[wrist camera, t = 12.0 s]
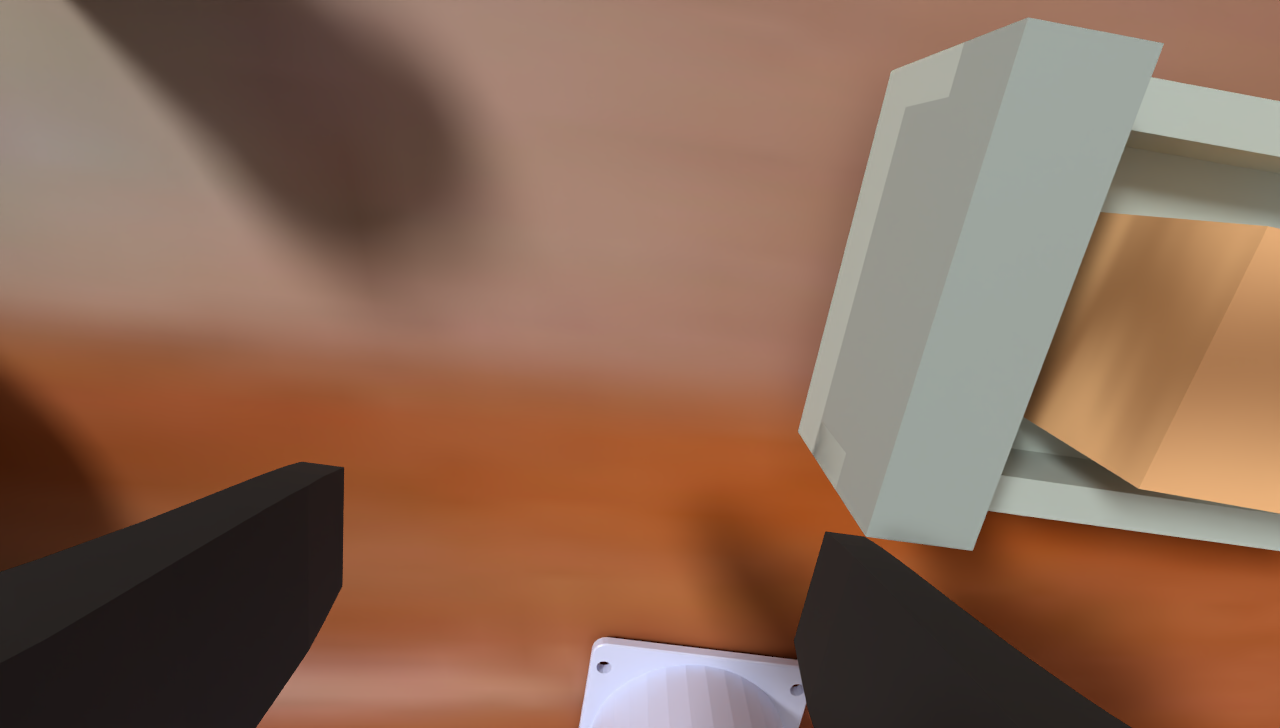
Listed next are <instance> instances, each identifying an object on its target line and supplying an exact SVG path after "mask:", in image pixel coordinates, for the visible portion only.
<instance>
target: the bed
mask: <svg viewBox="0 0 1280 728" xmlns="http://www.w3.org/2000/svg"><path fill="white" fill-rule="evenodd" d="M1163 44H1164V43H1159V42H1154V41H1148V40H1143V39H1138V38H1133V37H1127V36H1122V35H1117V34H1112V33H1107V32H1101V31H1096V30H1091V29H1086V28H1080V27H1075V26H1070V25H1065V24H1059V23H1054V22H1049V21H1044V20H1038V19H1033V18H1026V19H1023V20H1021V21H1018V22H1015V23H1013V24H1010V25H1008V26H1005V27H1003V28H1000V29H997V30H995V31H992V32H990V33H987V34H985V35H982V36H980V37H977V38H974V39H972V40H969V41H967V42H964V43H962V44H959V45H956V46H954V47H951V48H949V49H946V50H944V51H941V52H938V53H936V54H933V55H931V56H928V57H926V58H923V59H921V60H918V61H915V62H913V63H910V64H908V65H905V66H903V67H900V68H897V69H895V70H892V71H891V74H890V78H889V82H888V86H887V90H886V93H885V97H884V101H883V105H882V109H881V113H880V117H879V120H878V124H877V128H876V132H875V136H874V140H873V144H872V148H871V151H870V155H869V159H868V163H867V167H866V171H865V175H864V178H863V182H862V186H861V190H860V194H859V198H858V202H857V206H856V209H855V213H854V217H853V221H852V225H851V229H850V233H849V236H848V240H847V244H846V248H845V252H844V256H843V260H842V264H841V267H840V271H839V275H838V279H837V283H836V287H835V291H834V294H833V298H832V302H831V306H830V310H829V314H828V318H827V322H826V325H825V329H824V333H823V337H822V341H821V345H820V349H819V352H818V356H817V360H816V364H815V368H814V372H813V376H812V380H811V383H810V387H809V391H808V395H807V399H806V403H805V407H804V410H803V414H802V418H801V422H800V426H799V430H798V432H799V434H800V435H801V437H802V439H803V440H804V442H805V443H806V445H807V446H808V448H809V449H810V451H811V452H812V454H813V456H814V457H815V459H816V460H817V462H818V463H819V465H820V466H821V468H822V470H823V471H824V473H825V474H826V476H827V477H828V479H829V480H830V482H831V483H832V485H833V487H834V488H835V490H836V491H837V493H838V494H839V496H840V497H841V499H842V501H843V502H844V504H845V505H846V507H847V508H848V510H849V511H850V513H851V514H852V516H853V518H854V519H855V521H856V522H857V524H858V525H859V527H860V528H861V530H862V532H863V533H864V535H865V536H866V537H873V538H880V539H888V540H895V541H903V542H910V543H918V544H925V545H933V546H940V547H948V548H955V549H963V550H971V551H973V548H974V546H975V543H976V540H977V538H978V535H979V532H980V530H981V527H982V524H983V522H984V519H985V517H986V514H987V511H993V512H1000V513H1008V514H1015V515H1022V516H1029V517H1037V518H1044V519H1051V520H1059V521H1066V522H1073V523H1080V524H1088V525H1095V526H1102V527H1109V528H1117V529H1124V530H1131V531H1138V532H1146V533H1153V534H1160V535H1168V536H1175V537H1182V538H1189V539H1197V540H1204V541H1211V542H1218V543H1226V544H1233V545H1240V546H1247V547H1255V548H1262V549H1269V550H1276V551H1280V513H1274V512H1268V511H1263V510H1257V509H1251V508H1246V507H1240V506H1234V505H1229V504H1223V503H1217V502H1211V501H1206V500H1200V499H1194V498H1189V497H1183V496H1177V495H1171V494H1166V493H1160V492H1154V491H1149V490H1143V489H1138V488H1137V487H1135V486H1133V485H1132V484H1130V483H1129V482H1127V481H1125V480H1124V479H1122V478H1121V477H1119V476H1117V475H1116V474H1114V473H1113V472H1111V471H1109V470H1108V469H1106V468H1105V467H1103V466H1101V465H1100V464H1098V463H1097V462H1095V461H1093V460H1092V459H1090V458H1088V457H1087V456H1085V455H1084V454H1082V453H1080V452H1079V451H1077V450H1076V449H1074V448H1072V447H1071V446H1069V445H1068V444H1066V443H1064V442H1063V441H1061V440H1060V439H1058V438H1056V437H1055V436H1053V435H1052V434H1050V433H1048V432H1047V431H1045V430H1044V429H1042V428H1040V427H1039V426H1037V425H1036V424H1034V423H1032V422H1031V421H1029V420H1027V419H1026V418H1024V417H1023V416H1024V413H1025V410H1026V408H1027V405H1028V402H1029V400H1030V397H1031V395H1032V392H1033V389H1034V387H1035V384H1036V381H1037V379H1038V376H1039V373H1040V371H1041V368H1042V365H1043V363H1044V360H1045V357H1046V355H1047V352H1048V349H1049V347H1050V344H1051V341H1052V339H1053V336H1054V334H1055V331H1056V328H1057V326H1058V323H1059V320H1060V318H1061V315H1062V312H1063V310H1064V307H1065V304H1066V302H1067V299H1068V296H1069V294H1070V291H1071V288H1072V286H1073V283H1074V280H1075V278H1076V275H1077V273H1078V270H1079V267H1080V265H1081V262H1082V259H1083V257H1084V254H1085V251H1086V249H1087V246H1088V243H1089V241H1090V238H1091V235H1092V233H1093V230H1094V227H1095V225H1096V222H1097V219H1098V217H1099V214H1100V212H1106V213H1118V214H1129V215H1141V216H1153V217H1165V218H1177V219H1189V220H1201V221H1213V222H1224V223H1236V224H1248V225H1260V226H1270V227H1274V228H1279V229H1280V101H1275V100H1270V99H1264V98H1259V97H1254V96H1248V95H1243V94H1238V93H1232V92H1227V91H1222V90H1216V89H1211V88H1206V87H1200V86H1195V85H1190V84H1184V83H1179V82H1174V81H1168V80H1163V79H1158V78H1152V77H1151V76H1152V74H1153V71H1154V68H1155V66H1156V63H1157V60H1158V58H1159V55H1160V52H1161V50H1162V47H1163Z"/></svg>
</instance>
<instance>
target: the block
mask: <svg viewBox="0 0 1280 728" xmlns="http://www.w3.org/2000/svg"><path fill="white" fill-rule="evenodd" d="M1023 417H1024V418H1026V419H1027V420H1029V421H1031V422H1032V423H1034V424H1036V425H1037V426H1039V427H1040V428H1042V429H1044V430H1045V431H1047V432H1048V433H1050V434H1052V435H1053V436H1055V437H1056V438H1058V439H1060V440H1061V441H1063V442H1064V443H1066V444H1068V445H1069V446H1071V447H1072V448H1074V449H1076V450H1077V451H1079V452H1080V453H1082V454H1084V455H1085V456H1087V457H1088V458H1090V459H1092V460H1093V461H1095V462H1097V463H1098V464H1100V465H1101V466H1103V467H1105V468H1106V469H1108V470H1109V471H1111V472H1113V473H1114V474H1116V475H1117V476H1119V477H1121V478H1122V479H1124V480H1125V481H1127V482H1129V483H1130V484H1132V485H1133V486H1135V487H1137V488H1138V489H1143V490H1149V491H1154V492H1160V493H1166V494H1171V495H1177V496H1183V497H1189V498H1194V499H1200V500H1206V501H1211V502H1217V503H1223V504H1229V505H1234V506H1240V507H1246V508H1251V509H1257V510H1263V511H1268V512H1274V513H1280V229H1279V228H1274V227H1270V226H1260V225H1248V224H1236V223H1224V222H1213V221H1201V220H1189V219H1177V218H1165V217H1153V216H1141V215H1129V214H1118V213H1106V212H1100V214H1099V217H1098V219H1097V222H1096V225H1095V227H1094V230H1093V233H1092V235H1091V238H1090V241H1089V243H1088V246H1087V249H1086V251H1085V254H1084V257H1083V259H1082V262H1081V265H1080V267H1079V270H1078V273H1077V275H1076V278H1075V280H1074V283H1073V286H1072V288H1071V291H1070V294H1069V296H1068V299H1067V302H1066V304H1065V307H1064V310H1063V312H1062V315H1061V318H1060V320H1059V323H1058V326H1057V328H1056V331H1055V334H1054V336H1053V339H1052V341H1051V344H1050V347H1049V349H1048V352H1047V355H1046V357H1045V360H1044V363H1043V365H1042V368H1041V371H1040V373H1039V376H1038V379H1037V381H1036V384H1035V387H1034V389H1033V392H1032V395H1031V397H1030V400H1029V402H1028V405H1027V408H1026V410H1025V413H1024V416H1023Z"/></svg>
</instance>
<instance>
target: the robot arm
mask: <svg viewBox="0 0 1280 728" xmlns="http://www.w3.org/2000/svg"><path fill="white" fill-rule="evenodd" d="M343 506H344V467H337V466H329V465H322V464H314V463H307V462H299V463H295V464H292V465H288V466H285V467H282V468H279V469H276V470H274V471H271V472H268V473H265V474H263V475H260V476H257V477H255V478H252V479H250V480H247V481H245V482H242V483H239V484H237V485H234V486H232V487H229V488H227V489H224V490H222V491H219V492H217V493H214V494H212V495H209V496H207V497H204V498H202V499H199V500H196V501H194V502H191V503H189V504H186V505H184V506H181V507H179V508H176V509H174V510H171V511H169V512H166V513H163V514H161V515H158V516H156V517H153V518H151V519H148V520H146V521H143V522H140V523H137V524H135V525H132V526H129V527H126V528H124V529H121V530H118V531H115V532H113V533H110V534H107V535H104V536H102V537H99V538H96V539H93V540H91V541H88V542H85V543H82V544H79V545H77V546H74V547H71V548H68V549H66V550H63V551H60V552H57V553H55V554H52V555H49V556H46V557H44V558H41V559H38V560H35V561H32V562H29V563H26V564H23V565H20V566H17V567H14V568H11V569H8V570H5V571H2V572H0V728H256V727H257V725H258V724H259V722H260V721H261V719H262V718H263V717H264V715H265V714H266V712H267V711H268V709H269V708H270V706H271V705H272V704H273V702H274V701H275V699H276V698H277V696H278V695H279V693H280V692H281V690H282V689H283V688H284V686H285V685H286V683H287V682H288V680H289V679H290V677H291V676H292V674H293V673H294V671H295V670H296V669H297V667H298V666H299V664H300V663H301V661H302V660H303V658H304V657H305V655H306V654H307V652H308V651H309V649H310V647H311V645H312V643H313V641H314V640H315V638H316V636H317V634H318V632H319V630H320V628H321V627H322V625H323V623H324V621H325V619H326V617H327V615H328V613H329V611H330V609H331V607H332V605H333V603H334V601H335V599H336V597H337V595H338V593H339V591H340V589H341V587H342V576H343ZM794 644H795V649H796V654H797V660H795V659H786V658H778V657H770V656H761V655H753V654H744V653H736V652H728V651H719V650H711V649H703V648H694V647H686V646H677V645H669V644H661V643H652V642H644V641H635V640H627V639H619V638H610V637H603V638H600V639H598V640H597V641H596V642H594V644H593V647H592V652H591V658H590V664H589V670H588V676H587V682H586V688H585V694H584V700H583V706H582V712H581V718H580V724H579V728H799V726H800V722H801V719H802V716H803V713H804V709H805V706H806V703H807V707H808V711H809V714H810V717H811V720H812V723H813V726H814V728H1131V727H1130V726H1128V725H1127V724H1125V723H1123V722H1122V721H1120V720H1119V719H1117V718H1115V717H1114V716H1112V715H1111V714H1109V713H1108V712H1106V711H1105V710H1103V709H1102V708H1100V707H1099V706H1097V705H1096V704H1094V703H1093V702H1091V701H1089V700H1088V699H1086V698H1085V697H1083V696H1082V695H1081V694H1079V693H1078V692H1076V691H1075V690H1073V689H1072V688H1070V687H1069V686H1068V685H1066V684H1065V683H1063V682H1062V681H1060V680H1059V679H1058V678H1056V677H1055V676H1053V675H1052V674H1050V673H1049V672H1048V671H1046V670H1045V669H1043V668H1042V667H1040V666H1039V665H1038V664H1036V663H1035V662H1033V661H1032V660H1031V659H1029V658H1028V657H1026V656H1025V655H1023V654H1022V653H1021V652H1019V651H1018V650H1017V649H1015V648H1014V647H1013V646H1011V645H1010V644H1008V643H1007V642H1006V641H1004V640H1003V639H1002V638H1000V637H999V636H998V635H996V634H995V633H994V632H992V631H991V630H990V629H988V628H987V627H986V626H984V625H983V624H982V623H980V622H979V621H978V620H976V619H975V618H974V617H972V616H971V615H970V614H968V613H967V612H966V611H964V610H963V609H962V608H961V607H959V606H958V605H957V604H955V603H954V602H953V601H951V600H950V599H949V598H948V597H946V596H945V595H944V594H942V593H941V592H940V591H938V590H937V589H936V588H935V587H933V586H932V585H931V584H929V583H928V582H927V581H925V580H924V579H923V578H922V577H920V576H919V575H918V574H916V573H915V572H914V571H912V570H911V569H910V568H908V567H907V566H906V565H905V564H903V563H902V562H900V561H899V560H898V559H896V558H895V557H894V556H892V555H891V554H890V553H888V552H887V551H885V550H884V549H883V548H881V547H880V546H878V545H877V544H875V543H874V542H872V541H870V540H869V539H867V538H865V537H862V536H855V535H847V534H840V533H832V532H825V535H824V538H823V542H822V545H821V549H820V552H819V556H818V559H817V563H816V566H815V570H814V573H813V576H812V580H811V583H810V587H809V590H808V594H807V597H806V601H805V604H804V608H803V611H802V614H801V618H800V621H799V625H798V628H797V632H796V635H795V639H794ZM604 661H605V662H608V663H609V664H606V665H603V664H600V662H604ZM795 684H800V685H798V686H796V687H792V686H793V685H795Z"/></svg>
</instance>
